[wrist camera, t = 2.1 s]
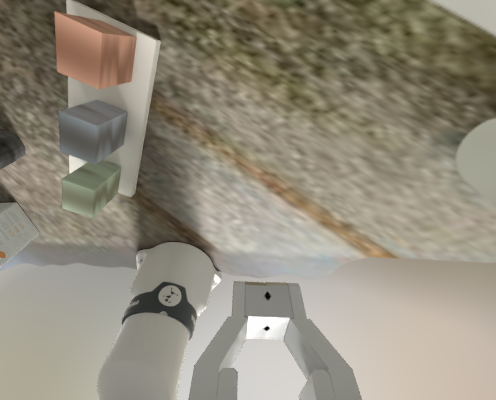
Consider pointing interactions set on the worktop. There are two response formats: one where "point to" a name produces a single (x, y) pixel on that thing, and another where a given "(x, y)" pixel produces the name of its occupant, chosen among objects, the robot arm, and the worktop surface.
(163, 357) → the robot arm
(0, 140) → the beverage cup
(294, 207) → the worktop surface
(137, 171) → the base
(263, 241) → the worktop surface
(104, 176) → the sage green block
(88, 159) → the grey tall block
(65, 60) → the pink tall block
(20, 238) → the small box
